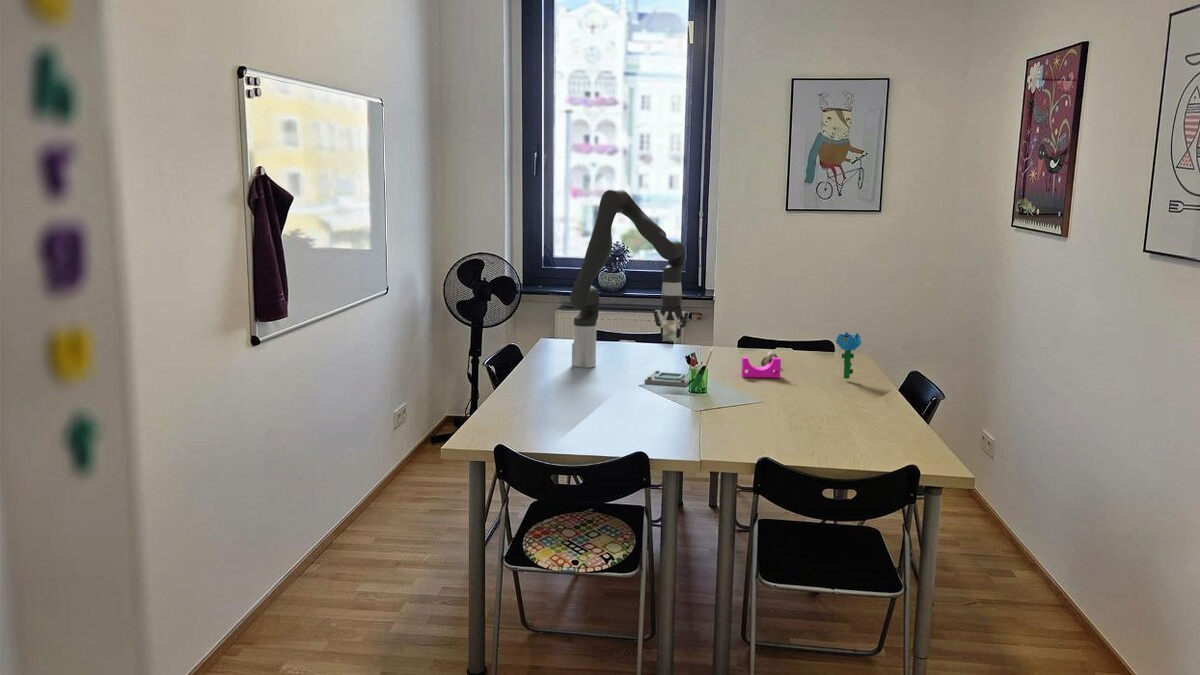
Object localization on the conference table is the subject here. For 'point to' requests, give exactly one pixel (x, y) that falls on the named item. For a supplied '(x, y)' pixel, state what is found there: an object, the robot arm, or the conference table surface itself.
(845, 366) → the toy flower
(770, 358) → the eagle figurine
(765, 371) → the toy block
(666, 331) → the beige block
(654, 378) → the baseplate
